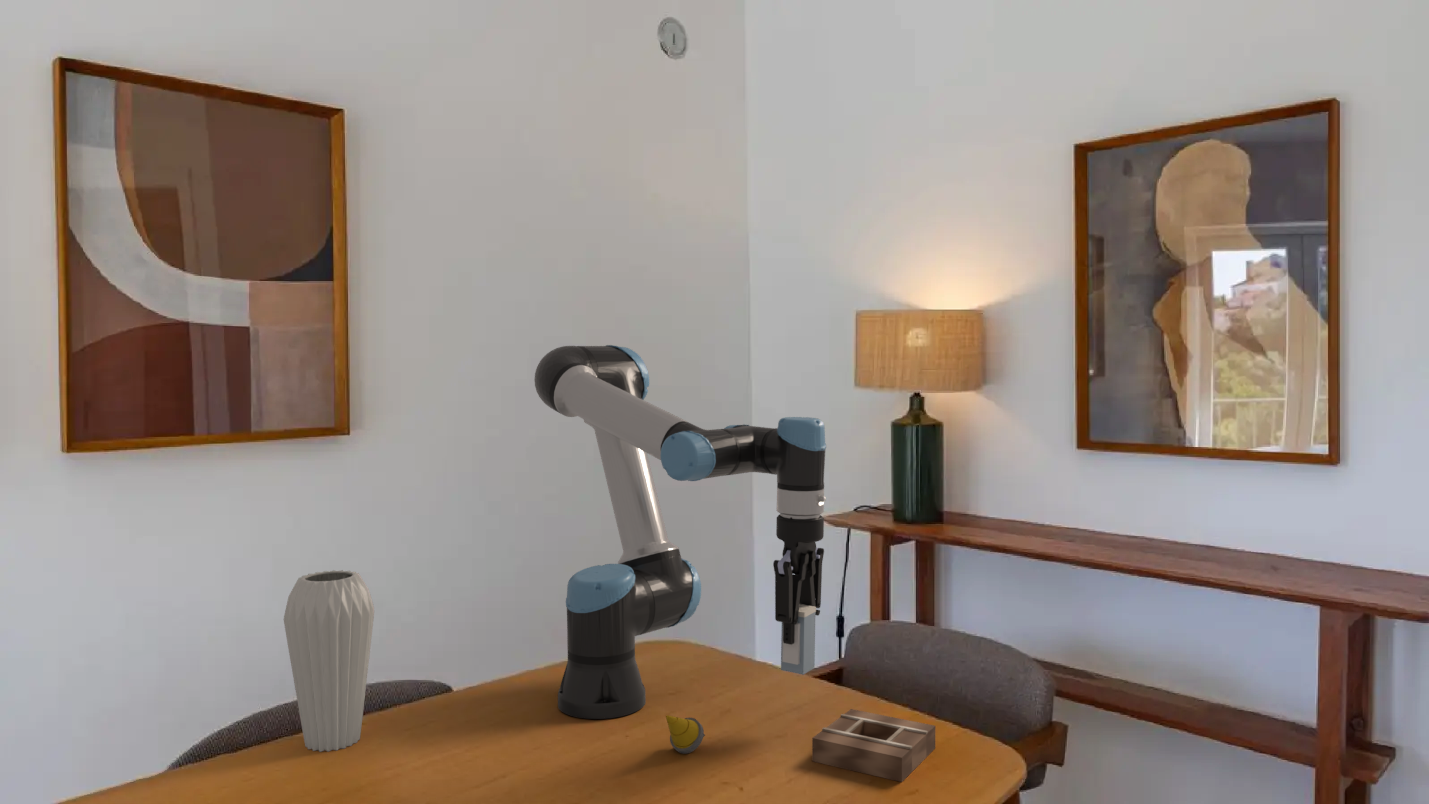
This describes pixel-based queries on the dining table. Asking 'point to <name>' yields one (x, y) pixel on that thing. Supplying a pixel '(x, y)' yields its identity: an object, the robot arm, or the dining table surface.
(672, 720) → the yellow spinning top
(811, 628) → the peg
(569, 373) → the robot arm
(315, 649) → the vase
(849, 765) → the socket block
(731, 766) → the dining table surface
